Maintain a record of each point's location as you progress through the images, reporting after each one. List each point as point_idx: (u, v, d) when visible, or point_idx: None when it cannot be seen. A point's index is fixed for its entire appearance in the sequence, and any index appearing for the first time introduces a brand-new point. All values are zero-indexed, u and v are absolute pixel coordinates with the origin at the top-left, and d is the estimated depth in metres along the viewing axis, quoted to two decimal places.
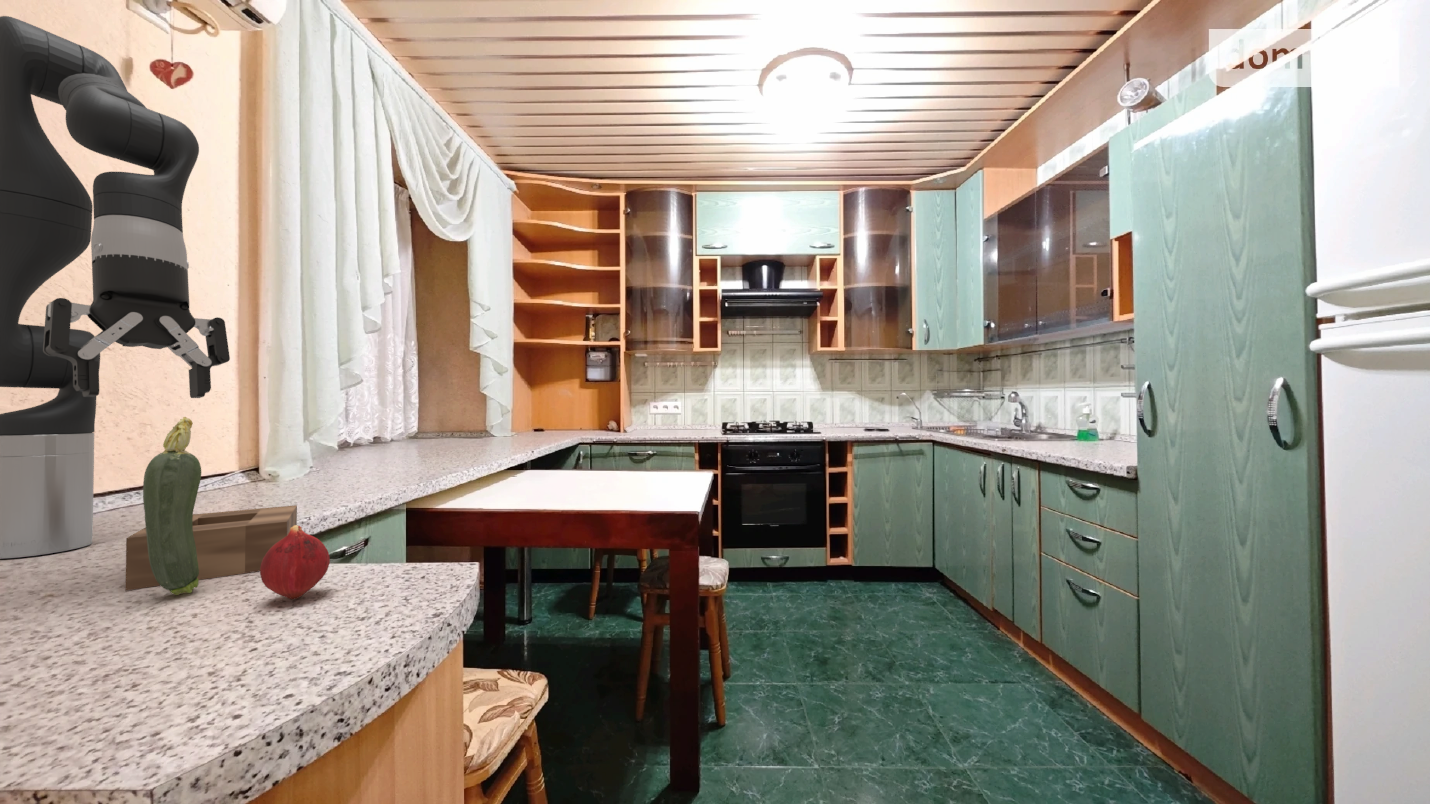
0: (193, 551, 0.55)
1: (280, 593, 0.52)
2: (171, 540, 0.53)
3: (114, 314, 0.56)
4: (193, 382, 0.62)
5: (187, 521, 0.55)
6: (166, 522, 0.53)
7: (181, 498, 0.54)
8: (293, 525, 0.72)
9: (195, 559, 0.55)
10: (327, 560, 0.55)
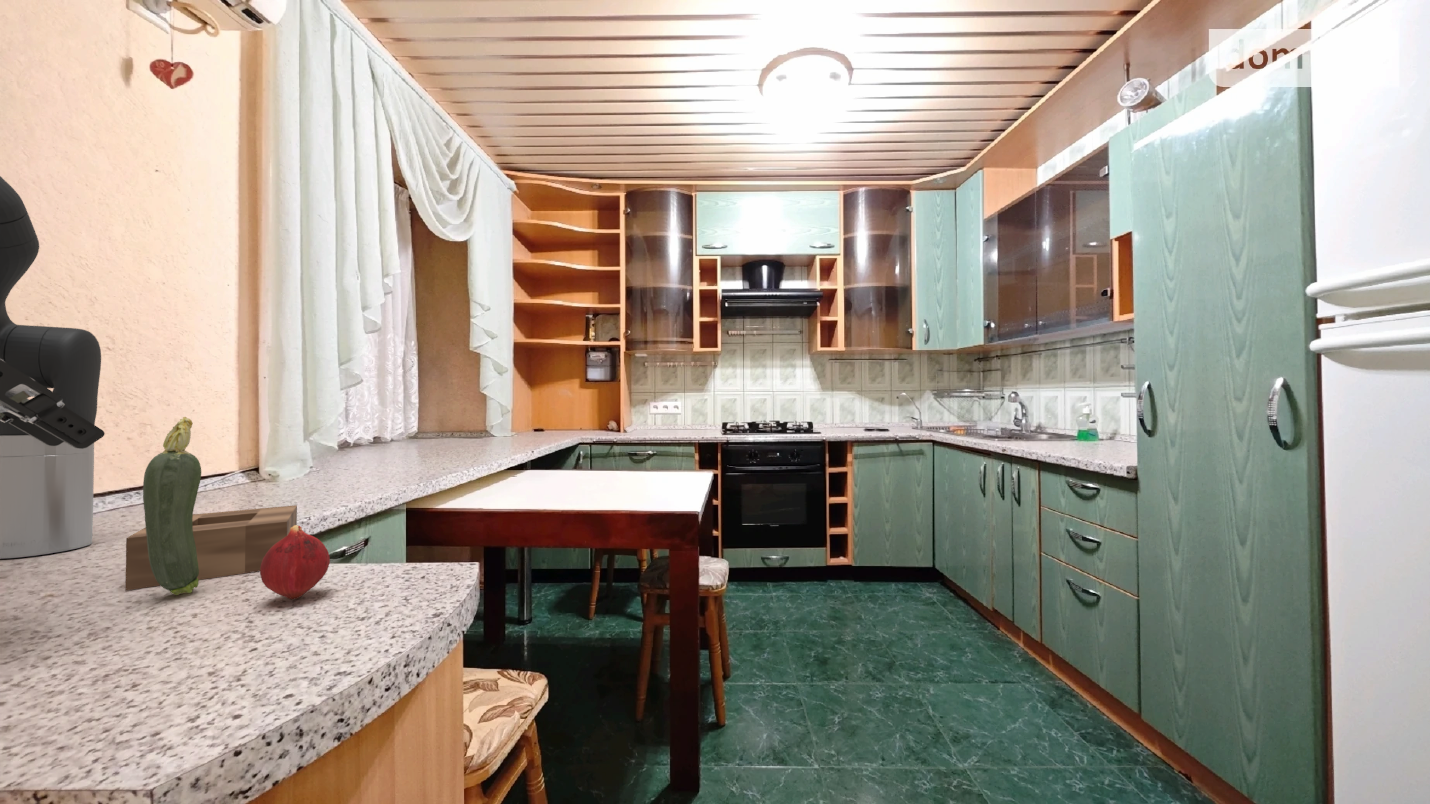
0: (193, 551, 0.55)
1: (280, 593, 0.52)
2: (171, 540, 0.53)
3: None
4: None
5: (187, 521, 0.55)
6: (166, 522, 0.53)
7: (181, 498, 0.54)
8: (293, 525, 0.72)
9: (195, 559, 0.55)
10: (327, 560, 0.55)
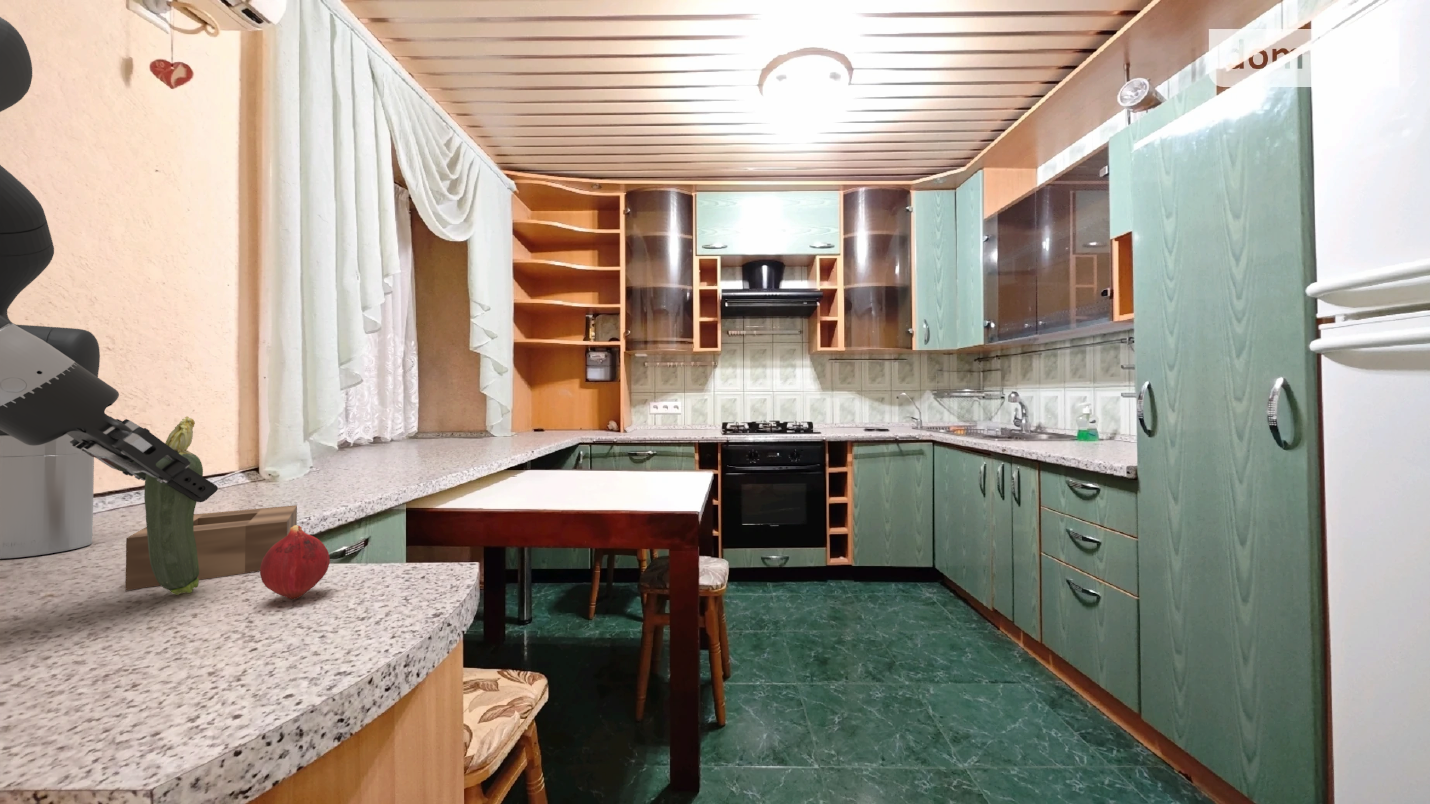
0: (194, 551, 0.55)
1: (280, 593, 0.52)
2: (171, 540, 0.53)
3: (81, 441, 0.50)
4: None
5: (188, 522, 0.55)
6: (167, 523, 0.53)
7: (182, 499, 0.54)
8: (293, 525, 0.72)
9: (195, 559, 0.55)
10: (327, 560, 0.55)
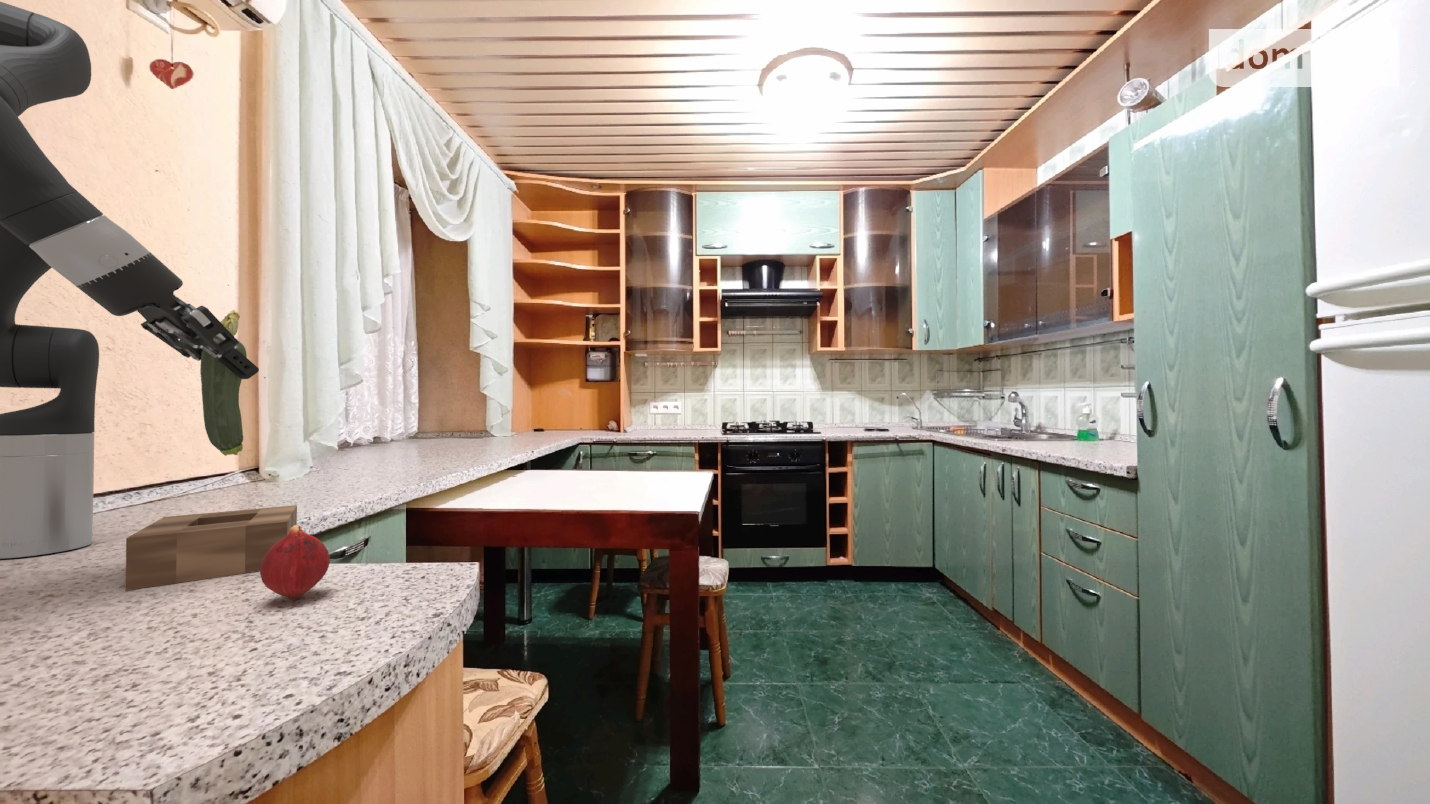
0: (239, 420, 0.67)
1: (280, 593, 0.52)
2: (222, 407, 0.65)
3: (151, 320, 0.62)
4: None
5: (235, 395, 0.66)
6: (219, 392, 0.65)
7: (231, 375, 0.65)
8: (293, 525, 0.72)
9: (240, 427, 0.67)
10: (327, 560, 0.55)
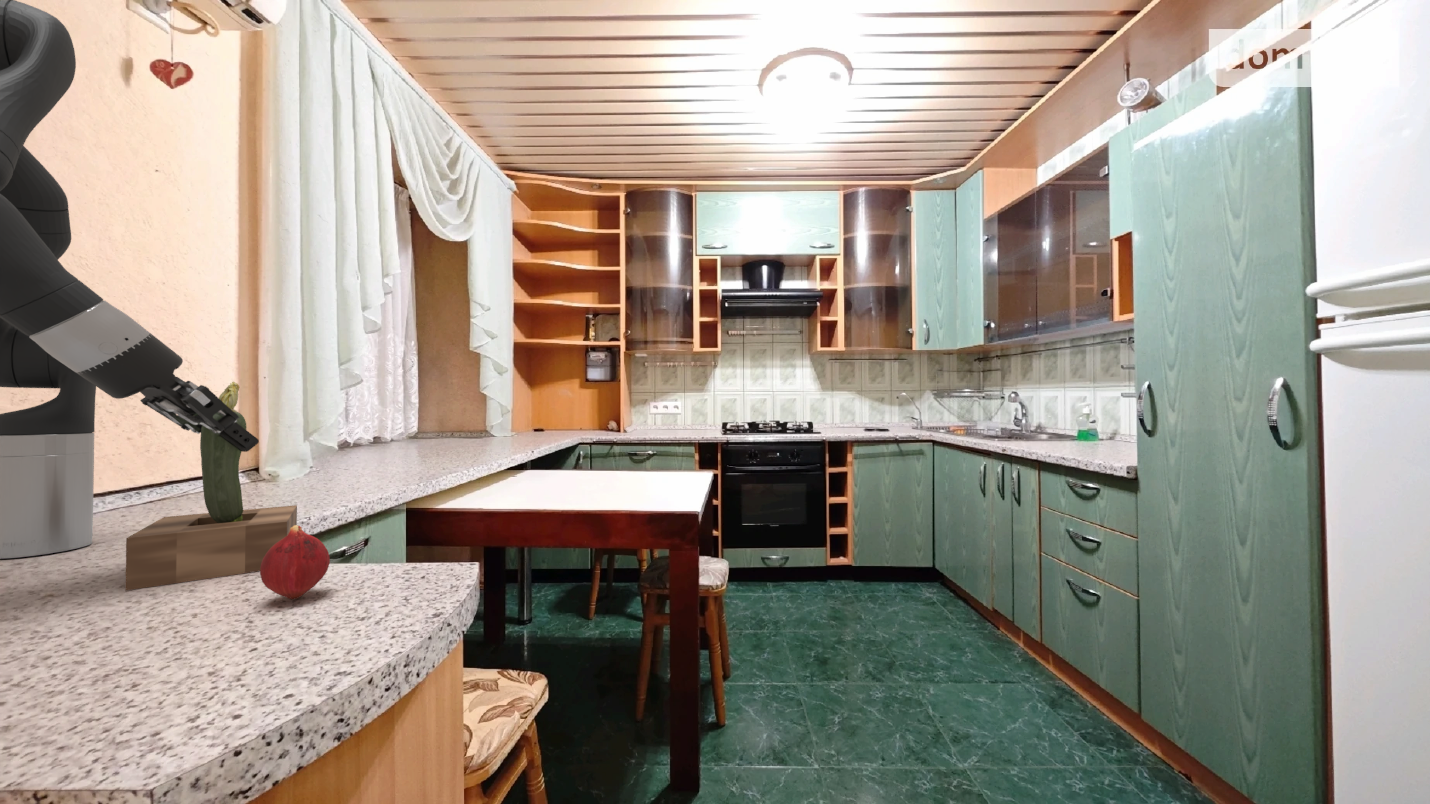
0: (239, 492, 0.66)
1: (280, 593, 0.52)
2: (222, 481, 0.65)
3: (151, 398, 0.62)
4: None
5: (235, 467, 0.66)
6: (219, 467, 0.64)
7: (231, 448, 0.65)
8: (293, 525, 0.72)
9: (240, 499, 0.67)
10: (327, 560, 0.55)
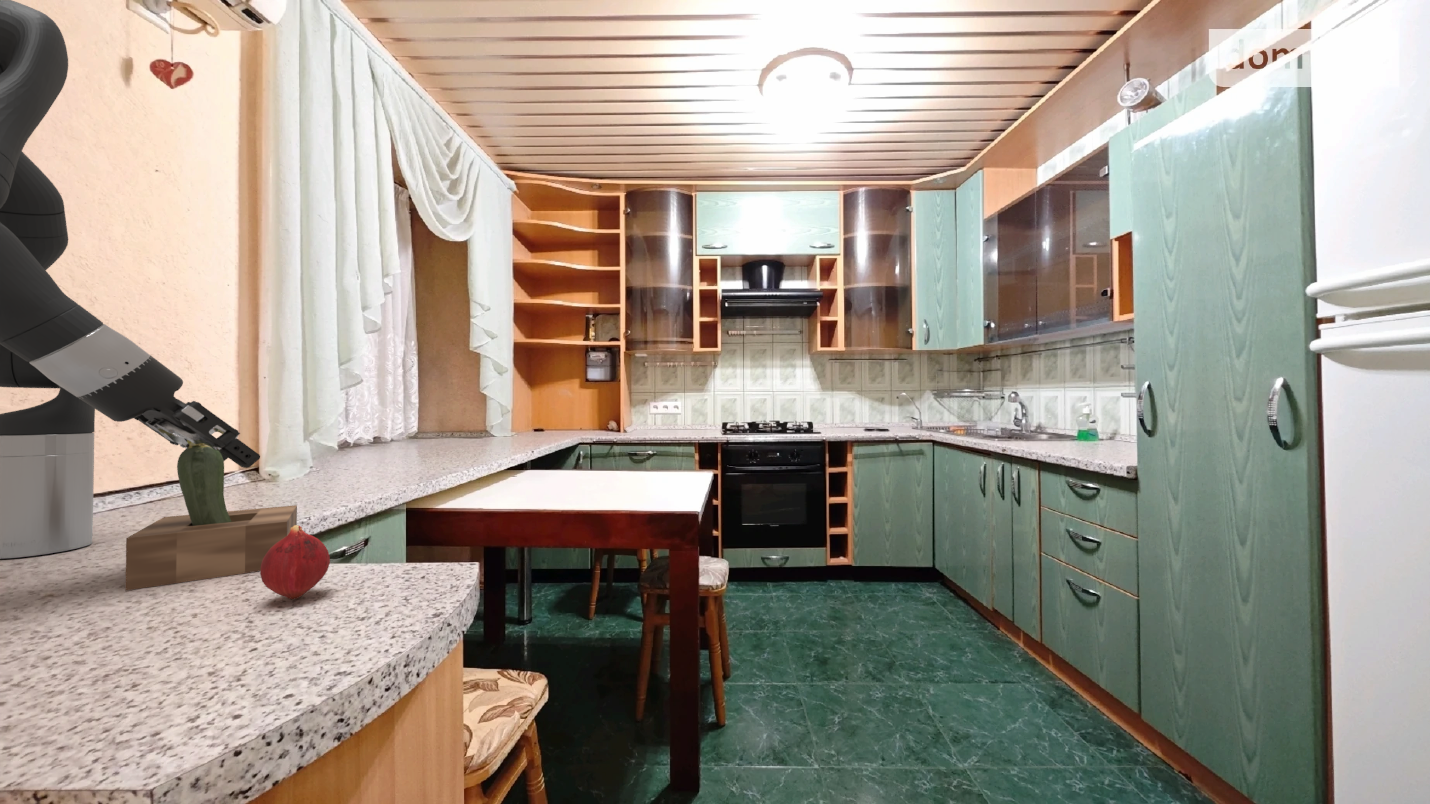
0: None
1: (280, 593, 0.52)
2: (210, 518, 0.64)
3: (153, 420, 0.62)
4: None
5: (220, 502, 0.65)
6: (203, 504, 0.64)
7: (211, 483, 0.64)
8: (293, 525, 0.72)
9: None
10: (327, 560, 0.55)
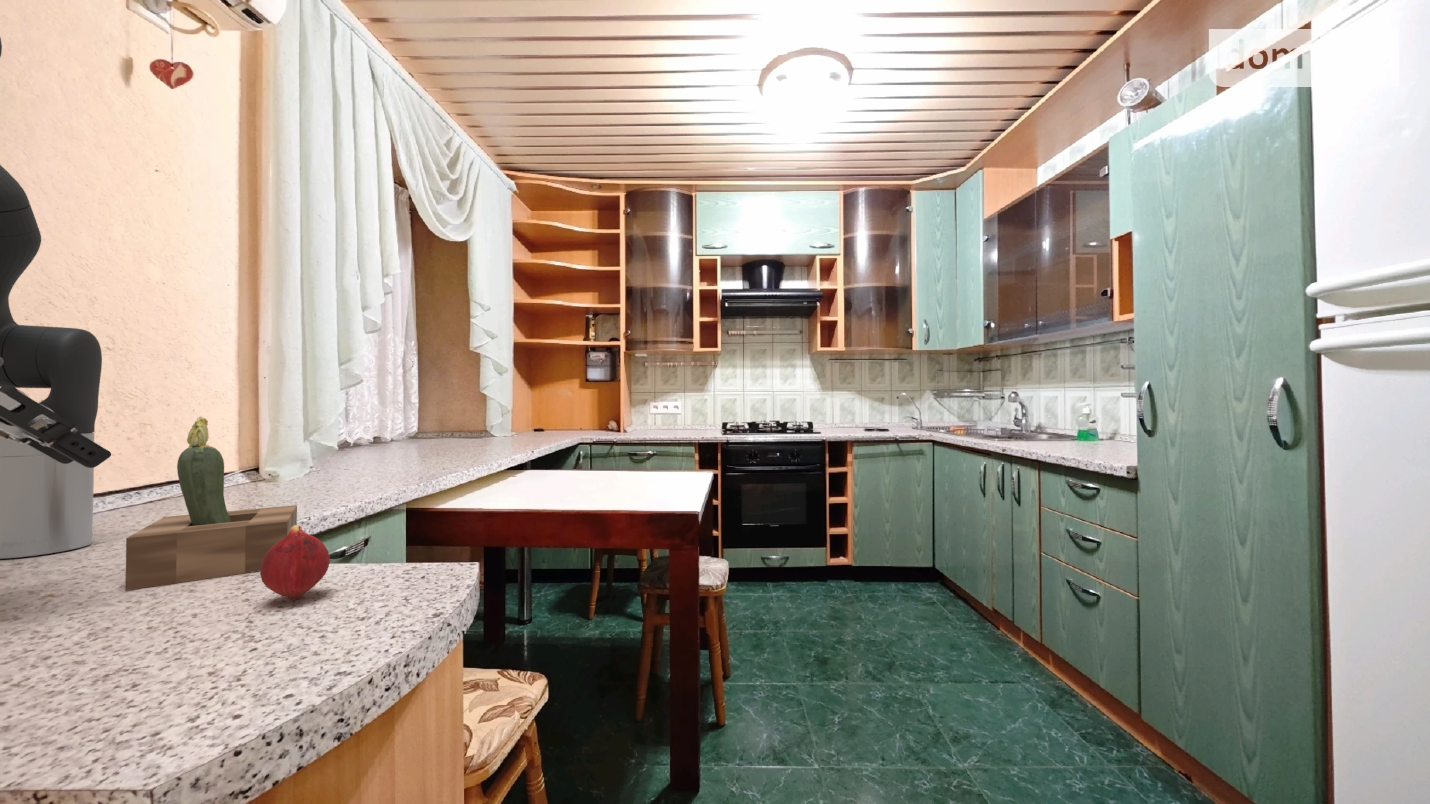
0: None
1: (280, 593, 0.52)
2: (210, 518, 0.64)
3: None
4: None
5: (220, 502, 0.65)
6: (203, 504, 0.64)
7: (211, 483, 0.64)
8: (293, 525, 0.72)
9: None
10: (327, 560, 0.55)
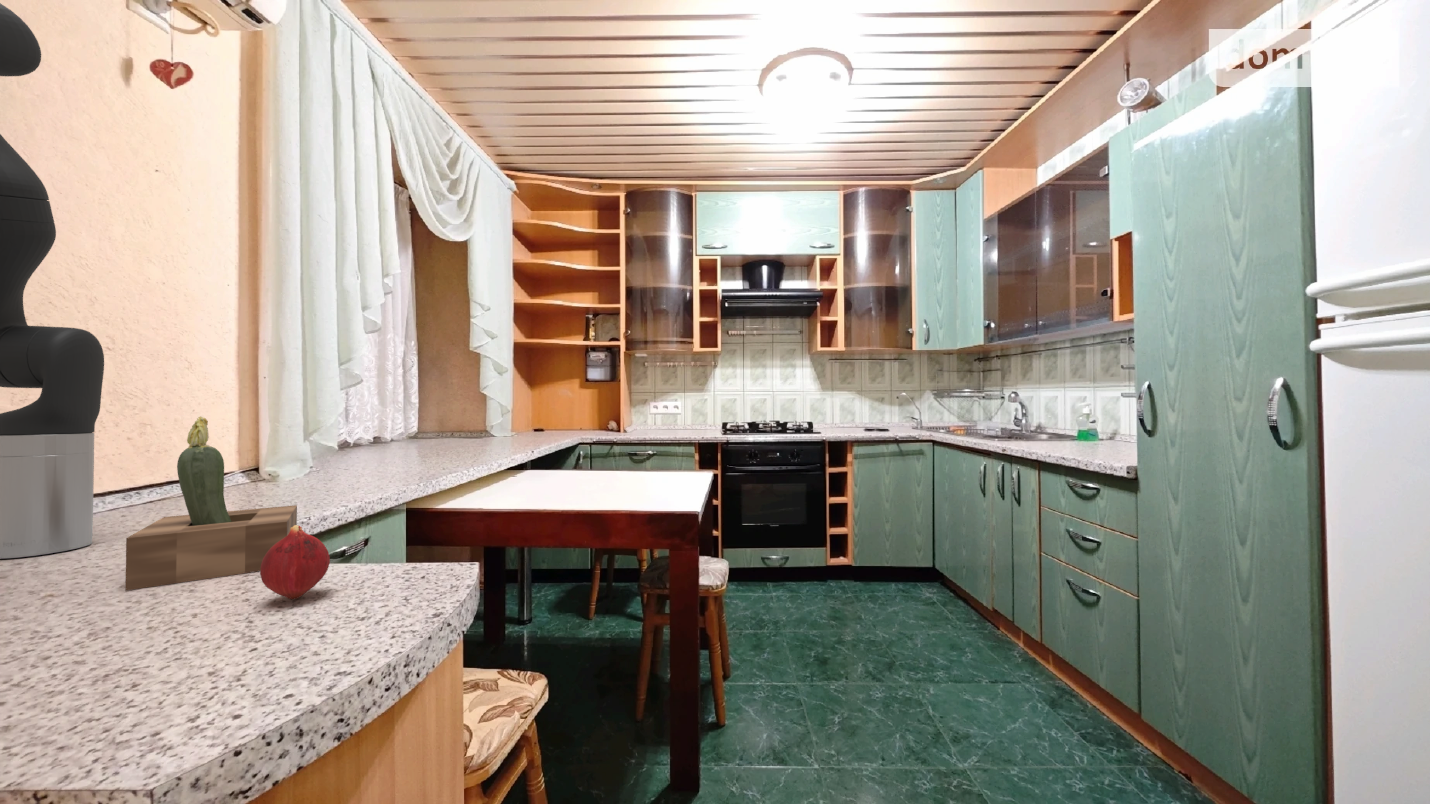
0: None
1: (280, 593, 0.52)
2: (210, 518, 0.64)
3: None
4: None
5: (220, 502, 0.65)
6: (203, 504, 0.64)
7: (211, 483, 0.64)
8: (293, 525, 0.72)
9: None
10: (327, 560, 0.55)
